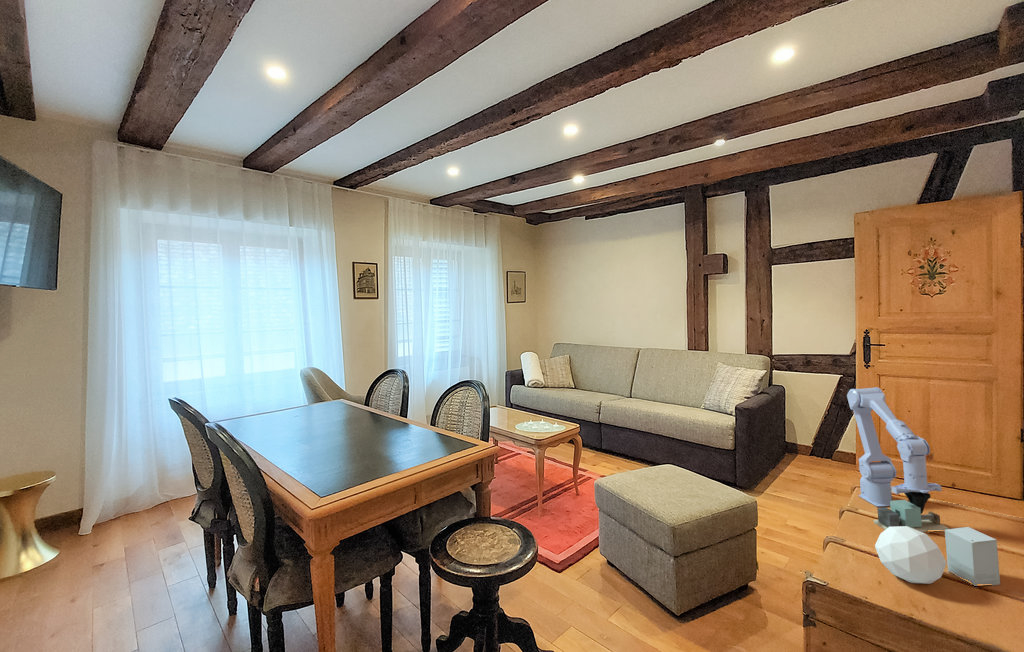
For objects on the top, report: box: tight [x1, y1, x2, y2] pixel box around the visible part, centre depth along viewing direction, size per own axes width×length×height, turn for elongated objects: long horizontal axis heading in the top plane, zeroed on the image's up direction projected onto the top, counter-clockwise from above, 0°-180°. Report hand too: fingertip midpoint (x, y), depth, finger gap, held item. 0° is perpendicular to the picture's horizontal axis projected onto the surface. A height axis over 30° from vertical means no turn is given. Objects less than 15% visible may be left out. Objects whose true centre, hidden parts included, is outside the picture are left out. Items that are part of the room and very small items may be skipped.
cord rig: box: [873, 507, 950, 533], centre depth 144 cm, size 8×18×6 cm, turn 86°
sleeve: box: [889, 499, 922, 527], centre depth 144 cm, size 6×5×6 cm
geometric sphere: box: [874, 526, 948, 585], centre depth 120 cm, size 14×15×15 cm
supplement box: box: [944, 526, 1001, 587], centre depth 117 cm, size 7×7×13 cm
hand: (917, 512), depth 144 cm, fingers closed
